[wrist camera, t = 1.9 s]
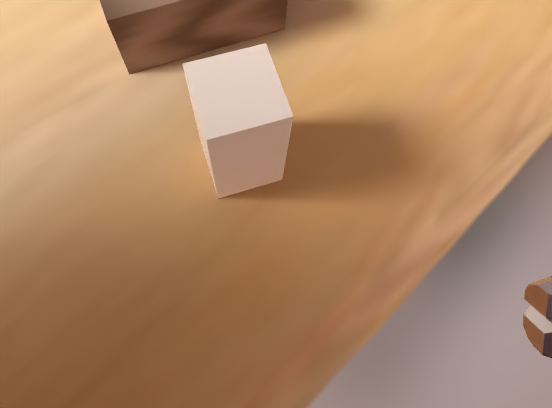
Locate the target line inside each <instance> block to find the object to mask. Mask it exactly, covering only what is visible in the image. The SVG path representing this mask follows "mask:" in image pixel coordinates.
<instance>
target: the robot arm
mask: <svg viewBox="0 0 552 408" xmlns="http://www.w3.org/2000/svg"><path fill="white" fill-rule="evenodd" d="M524 299H525V300H526V301H527V302H528V303H529V304H530V305H529V307H528V308H527V310H526V312H525V313H524V317H523V318H524V320H523V321H524V322H523V325H524V329H525V331H526V334H527V336H528V338H529V340H530V341H531V342H532V344H533V346H534V347H535V348H536V349H537V350H538V351H539V352H540V353H541V354H542V355H544V356H547V357H550V358H552V276H551V277H548V278H546V279H543V280H540V281H537V282H534V283H531V284H529V285H528V286H527V288H526V290H525V298H524Z"/></svg>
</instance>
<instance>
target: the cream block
mask: <svg viewBox="0 0 552 408" xmlns="http://www.w3.org/2000/svg"><path fill="white" fill-rule="evenodd" d="M183 68H184V72H185V77H186V81H187V85H188V90H189V94H190V98H191V103H192V107H193V111H194V116H195V120H196V124H197V128H198V133H199V137H200V141H201V144H202V147H203V151H204V154H205V157H206V160H207V164H208V167H209V170H210V173H211V177H212V180H213V183H214V186H215V190H216V193H217V196H218V199H219V198H222V197H225V196H229V195H232V194H236V193H239V192H243V191H246V190H249V189H253V188H256V187H260V186H263V185H267V184H270V183H273V182H277V181H280V180H282V178H283V173H284V167H285V161H286V156H287V150H288V144H289V139H290V133H291V128H292V122H293V114H292V111H291V108H290V106H289V103H288V100H287V98H286V95H285V92H284V90H283V87H282V85H281V82H280V79H279V77H278V74H277V71H276V69H275V66H274V63H273V61H272V58H271V55H270V53H269V50H268V47H267V45H266V43H264V44H260V45H256V46H252V47H248V48H244V49H240V50H236V51H232V52H228V53H224V54H220V55H216V56H212V57H208V58H203V59H199V60H195V61H191V62H187V63H183Z"/></svg>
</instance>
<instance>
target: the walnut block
mask: <svg viewBox="0 0 552 408" xmlns="http://www.w3.org/2000/svg"><path fill="white" fill-rule="evenodd" d="M100 2H101V5H102V8H103V11H104V14H105V17H106V20H107V23H108V25H109V27H110V30H111V32H112V34H113V37H114V39H115V41H116V44H117V46H118V48H119V51H120V53H121V55H122V58H123V60H124V63H125V65H126V67H127V70H128V72H129V74H131V73H135V72H138V71H142V70H145V69H148V68H152V67H155V66H159V65H162V64H166V63H169V62H172V61H176V60H179V59H183V58H186V57H190V56H193V55H197V54H200V53H203V52H207V51H210V50H214V49H217V48H221V47H224V46H227V45H231V44H234V43H238V42H241V41H245V40H248V39H251V38H255V37H258V36H262V35H265V34H269V33H272V32H275V31H279V30H282V29H284V27H285V18H286V8H287V0H100Z"/></svg>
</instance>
